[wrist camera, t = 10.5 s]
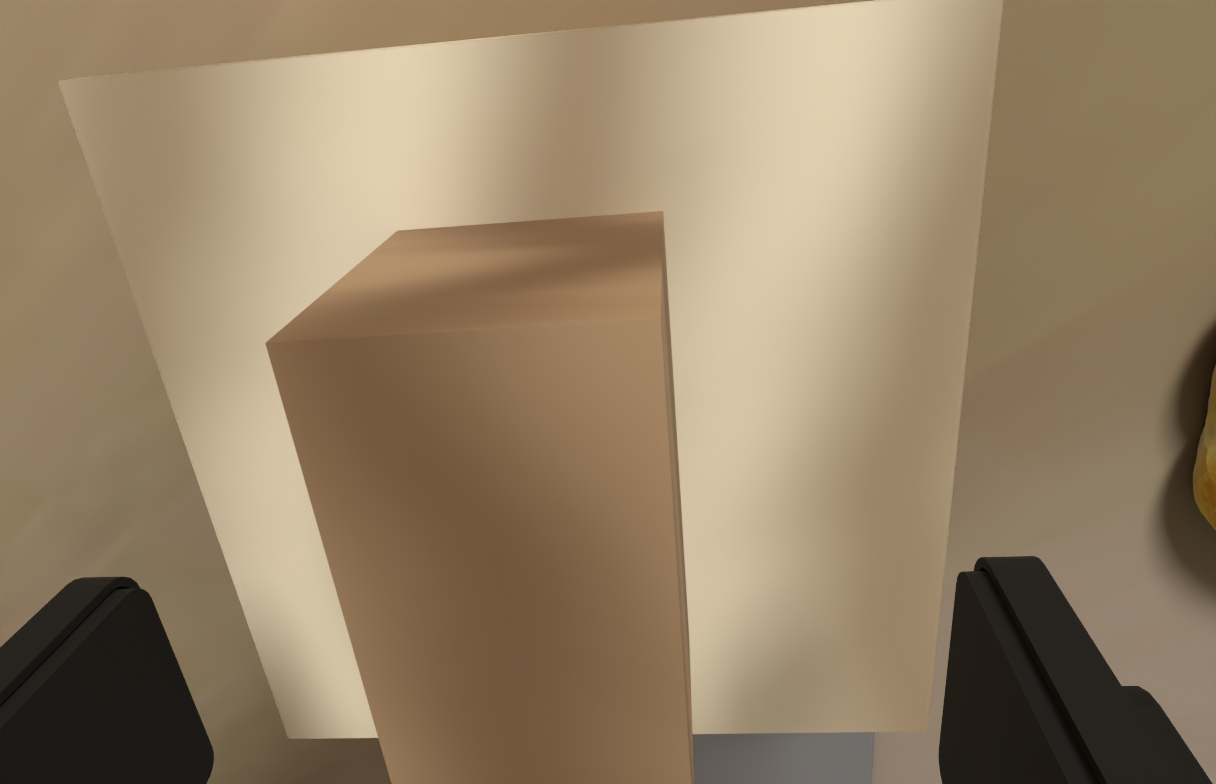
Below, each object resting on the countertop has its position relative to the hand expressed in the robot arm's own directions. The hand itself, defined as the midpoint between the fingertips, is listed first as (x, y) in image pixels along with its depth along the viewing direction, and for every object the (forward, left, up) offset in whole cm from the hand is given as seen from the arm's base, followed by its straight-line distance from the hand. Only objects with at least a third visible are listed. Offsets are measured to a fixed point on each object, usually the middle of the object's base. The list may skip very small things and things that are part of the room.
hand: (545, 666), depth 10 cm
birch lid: (0, 0, -6) cm, 6 cm away
